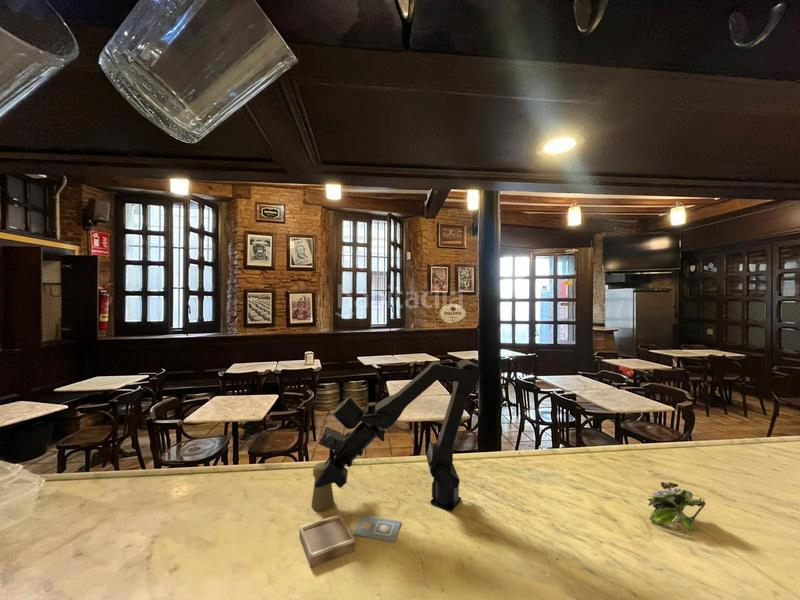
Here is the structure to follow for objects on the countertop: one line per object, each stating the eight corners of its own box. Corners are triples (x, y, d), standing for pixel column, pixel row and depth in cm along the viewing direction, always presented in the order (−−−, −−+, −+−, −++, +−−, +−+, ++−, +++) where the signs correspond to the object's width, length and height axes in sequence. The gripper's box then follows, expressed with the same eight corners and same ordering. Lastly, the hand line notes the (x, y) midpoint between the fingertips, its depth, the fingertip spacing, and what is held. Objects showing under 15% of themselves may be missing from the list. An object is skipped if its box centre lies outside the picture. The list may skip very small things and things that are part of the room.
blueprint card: (401, 522, 87) (401, 521, 87) (394, 542, 80) (394, 540, 80) (363, 516, 89) (363, 515, 89) (353, 535, 83) (353, 533, 83)
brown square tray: (340, 524, 86) (340, 513, 86) (355, 550, 78) (355, 539, 78) (299, 537, 82) (299, 526, 82) (310, 567, 73) (310, 555, 73)
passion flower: (667, 534, 91) (687, 493, 93) (705, 558, 80) (727, 511, 82) (630, 509, 92) (651, 468, 94) (664, 529, 81) (686, 483, 83)
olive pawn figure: (328, 513, 91) (328, 471, 90) (307, 509, 92) (307, 469, 91) (337, 499, 97) (337, 460, 96) (317, 496, 98) (317, 458, 97)
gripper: (341, 407, 103) (304, 444, 103) (332, 433, 84) (286, 479, 84) (368, 433, 104) (331, 470, 103) (364, 465, 85) (319, 510, 85)
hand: (317, 480), depth 94 cm, fingers closed on olive pawn figure, 5 cm apart
